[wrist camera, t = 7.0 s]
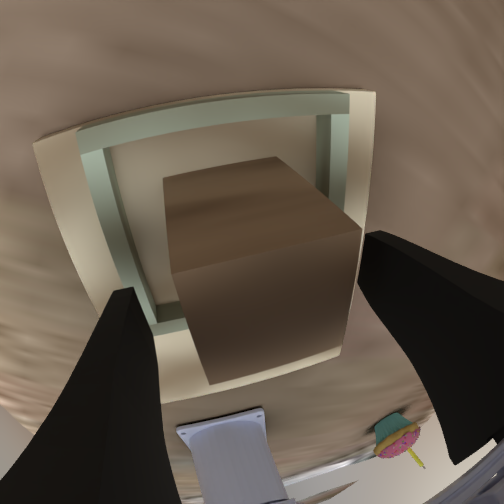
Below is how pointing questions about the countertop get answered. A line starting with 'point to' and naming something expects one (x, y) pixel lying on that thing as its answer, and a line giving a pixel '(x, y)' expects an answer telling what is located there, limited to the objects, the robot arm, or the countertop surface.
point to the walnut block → (258, 265)
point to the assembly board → (186, 160)
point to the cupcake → (396, 437)
